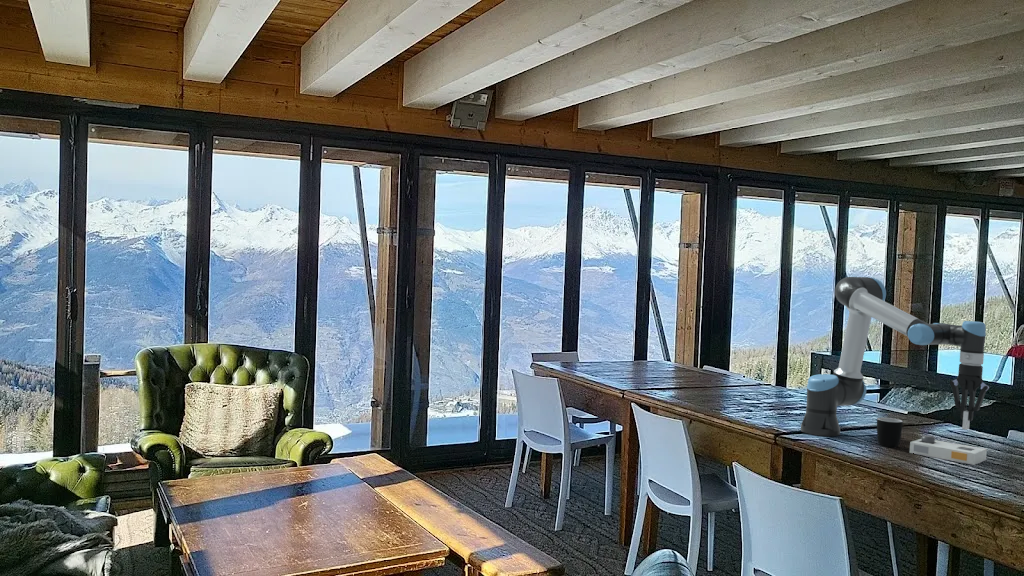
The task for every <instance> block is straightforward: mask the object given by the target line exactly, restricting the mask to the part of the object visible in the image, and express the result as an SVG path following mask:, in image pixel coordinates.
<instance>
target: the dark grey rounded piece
mask: <svg viewBox="0 0 1024 576" xmlns="http://www.w3.org/2000/svg"><path fill="white" fill-rule="evenodd" d="M921 439H922V441H921V442H924V443H930V444H934V443H935V440H936V437H935V436H934V435H933V436H932V435H927V434H926V435H921Z"/></svg>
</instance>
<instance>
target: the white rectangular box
mask: <svg viewBox="0 0 1024 576" xmlns="http://www.w3.org/2000/svg"><path fill="white" fill-rule="evenodd" d="M921 441H922V438H919V439H915V440H912V441H910V443H909V454H913V453H914V455H920V456H926V457H929V458H935V459H941V460H947V461H952V462H957V463H961V464H968V465H972V466H975V465H977V464H980V463H982V462H985V461H986V460H987V452H988V451H987V448H983V447H976V446H971V445H965V444H961V443H960V444H959V443H953V442H949V441H942V440H937V439H935V443H934V444H930V443H924V442H921ZM959 448H969V449H972V451H969V450H963V449H959Z"/></svg>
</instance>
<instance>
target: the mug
mask: <svg viewBox="0 0 1024 576" xmlns="http://www.w3.org/2000/svg"><path fill="white" fill-rule="evenodd" d="M902 431H903V420H901V419H898V418H891V417H878V418H877V419H876V434H877V442H878V445H879V446H880V447H884V448H889V447H891V448H890V449H892V448H893V449H895V448H898V446H899V445H900V442H901V438H902V434H903V433H902Z"/></svg>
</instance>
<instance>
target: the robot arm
mask: <svg viewBox="0 0 1024 576" xmlns="http://www.w3.org/2000/svg"><path fill="white" fill-rule="evenodd" d="M834 294H835V295H834V296H835V298H836V300H837V302H839V303H840V304H842V305H843V306H845V307H846V309H847V310H848V312H849V313H848V319H847V323H846V327H845V331H844V337H843V342H842V348H841V353H840V358H839V363H838V367H837V368H836V369H834V370H833V372H832V373H833V374H829V373H819V374H814V375H811V376H809V377H808V379H807V384H806V388H807V389H806V405H805V407H806V409H805V413H804V416H803V420H802V421H801V423H800V431H801V432H802V433H805V434H809V435H815V436H820V437H821V436H822V437H837V436H840V435H841V427H840V424H839V420H838V417H837V411H838V410H837V409H838V408H837V407H841V406H843V407H845V406H846V407H849V406H853V405H857V404H860V403H861V402H862V401H863V400H864V399H865V398H866V394H867V385H866V383H865V380H864V375H863V373H862V372H861V370H862V365H863V359H864V355H865V351H866V345H867V340H868V336H869V331H870V325H871V322H872V318H873V319H874V320H877V321H879V322H880V323H882V324H884V325H886V326H887V327H889V328H891V329H893V330H895V331H897V332H898V333H900V334H902V335H904V336H906V337H907V338H908V339H909V341H910V342H911V344H912V343H913V344H914V345H919V346H927V345H929V346H930V345H931V346H932V345H935V346H936V345H938V346H939V345H949V346H957V347H960V350H959V362H960V363H959V364H958V375H957V377H956V378H955V379H954V380H950V381H949V385H950V387H951V390H952V395H953V400H954V405H955V406H954V407H955V408H956V409H959V410H960V415H959V417H960V420H962V427H961V429H962V430H965V431H966V430H969V429H970V422H972V421H973V419H974V412H978V411H980V409H981V407H982V404H983V401H984V398H985V397H986V393H987V391H988V390H990V385H987V384H986V383H984V380H983V369H984V368H983V366H982V365H983V364H984V357H985V355H984V353H985V343H986V336H987V333H986V332H987V331H986V327H987V325H986V324H985V323H984V322H982V321H975V320H971V321H970V320H964V321H963V322H962V324H961V325H957V324H949V323H944V322H933V323H927V322H925V321H924V320H922V319H919V318H918V317H916V316H914V315H912V314H910V313H908V312H907V311H904V310H903V309H900V308H898V307H896V306H895V305H893V304H891V303H889V302H887V301H886V297H887V290H886V287H885V286H884V284H883V283H882V281H880V280H879V279H878V278H874V277H869V276H846V277H844V278H842V279H840V280H839V281H838V282H837V284H836V286H835V289H834ZM958 385H959V386H960V388H961V397H960V391H959V386H958ZM979 388H980V391H979V394H978V395H977V396H978V397H977V399H976V393H977V389H979ZM968 392H969V393H968ZM968 394H969V397H968ZM967 406H968V408H967Z"/></svg>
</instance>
